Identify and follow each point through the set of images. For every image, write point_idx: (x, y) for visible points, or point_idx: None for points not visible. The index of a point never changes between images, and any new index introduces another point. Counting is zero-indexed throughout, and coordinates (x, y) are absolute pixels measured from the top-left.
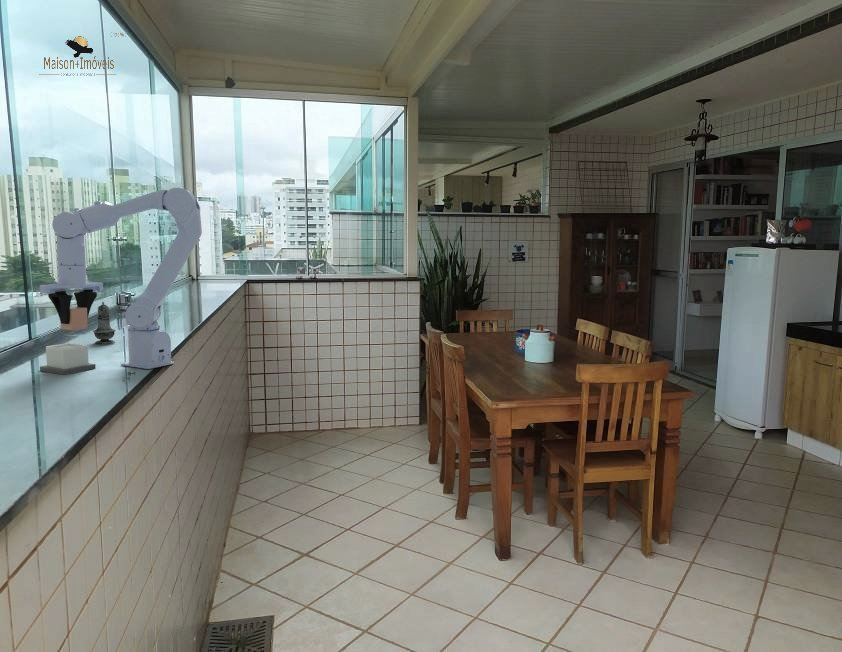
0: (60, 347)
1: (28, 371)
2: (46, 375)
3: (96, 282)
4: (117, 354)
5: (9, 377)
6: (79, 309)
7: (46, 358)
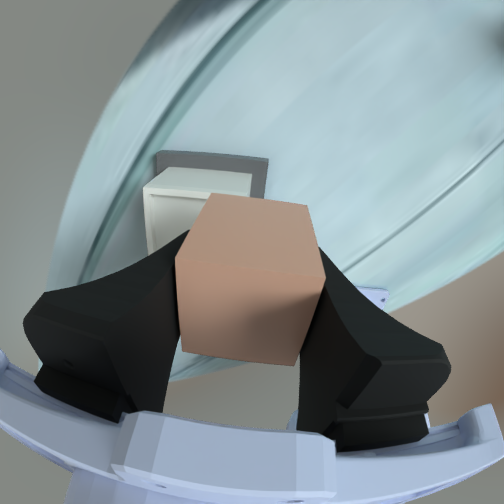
0: (193, 200)
1: (142, 129)
2: (138, 212)
3: (495, 461)
4: (447, 168)
5: (85, 159)
6: (241, 353)
7: (159, 174)
